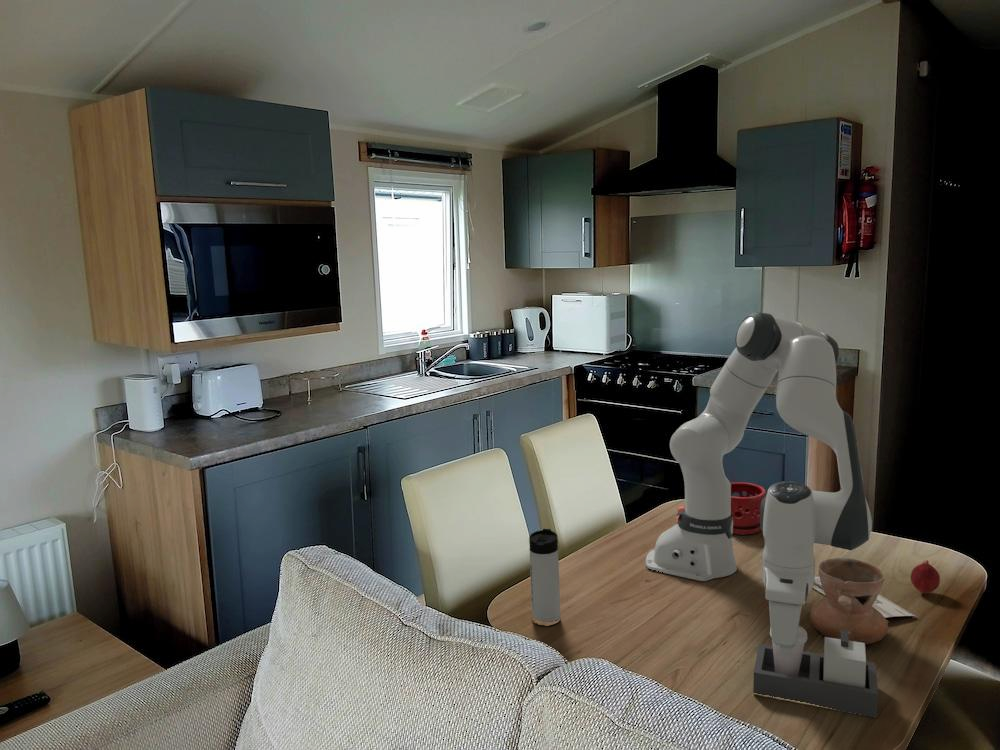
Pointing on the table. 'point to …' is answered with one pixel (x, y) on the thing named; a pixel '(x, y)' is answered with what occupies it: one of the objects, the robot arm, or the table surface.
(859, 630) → the ceramic jug
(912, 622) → the table surface
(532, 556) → the travel mug
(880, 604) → the newspaper
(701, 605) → the table surface
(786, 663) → the smoothie
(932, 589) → the onion
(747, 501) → the plant pot
